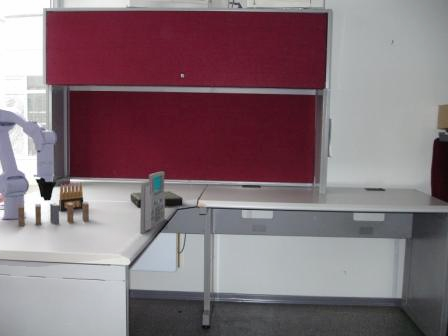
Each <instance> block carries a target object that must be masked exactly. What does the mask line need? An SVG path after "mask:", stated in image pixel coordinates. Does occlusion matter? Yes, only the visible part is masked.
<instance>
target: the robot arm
mask: <svg viewBox="0 0 448 336" xmlns="http://www.w3.org/2000/svg"><path fill="white" fill-rule="evenodd" d="M17 125H18V126H19V127H21V128H22V131H23V133H24V134H25V135H26V136H28V137H30V138H31V139H32V142H33V144H34V149H35V150H36V173H35V174H33V177H34V178H35V177H36V179H35V182H36V184H37V186H38V190H39V194H40V197H41V198H43V201H45V202H46V201H51V199H52V197H53V191H54V188H55V186H56V183H57V181H53V178H54V177H55V171H54V170H55V167H54V166H55V164H54V159H55V158H54V157H55V156H54V151H55V149H54V148H55V147H54V146H55V145H56V143H57V141H58V136H57V133H56V132H55V131H54V130H52V129H49V130H48V129H46V127H45V126H42V125H41V124H39V122H38V121H37V120H31V119H30V120H29V119H28V118H27V117H25V116H24V115H23V114H22V113H21V110H20V109H18V108H17V107H15V106H14V107H9V106H7V107H5V106H0V166H1V169H2V173H1V174H0V194H1V196H2V197H3V214H2V215H3V216H2V220H14V219H17V220H18V206H19V205H24V206H25V195H27V192H29V188H30V184H29V181H28V179H27V177H26V174H25V172H23V171H21V170H19V169H18V165H17V161H16V158H15V154H14V149H13V146H12V142H11V138H10V134H9V132H10V131H11V130H13V129H14V128H15V127H16V126H17ZM26 215H27V212H24V219H26Z"/></svg>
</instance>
